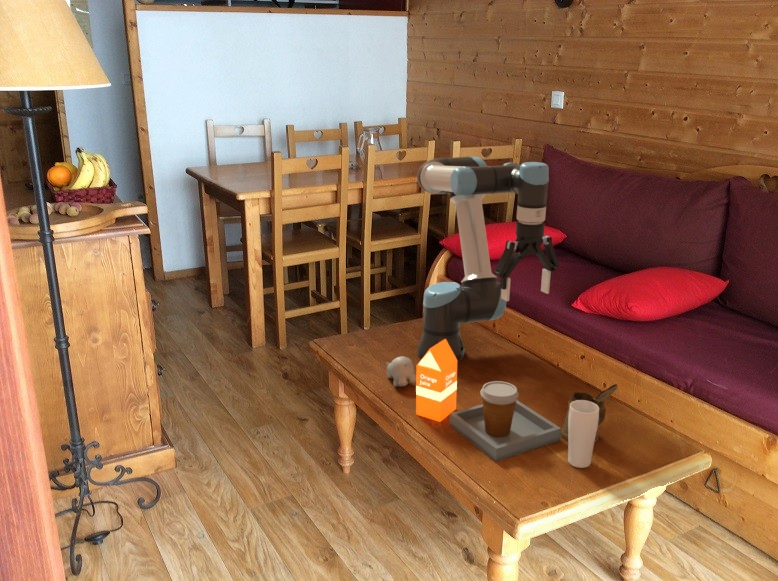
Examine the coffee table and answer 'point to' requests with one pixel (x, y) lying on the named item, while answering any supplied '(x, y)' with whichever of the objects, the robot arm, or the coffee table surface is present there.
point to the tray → (523, 436)
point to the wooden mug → (589, 397)
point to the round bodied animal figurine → (401, 371)
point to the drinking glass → (582, 432)
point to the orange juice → (436, 383)
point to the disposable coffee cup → (498, 407)
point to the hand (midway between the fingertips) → (525, 296)
